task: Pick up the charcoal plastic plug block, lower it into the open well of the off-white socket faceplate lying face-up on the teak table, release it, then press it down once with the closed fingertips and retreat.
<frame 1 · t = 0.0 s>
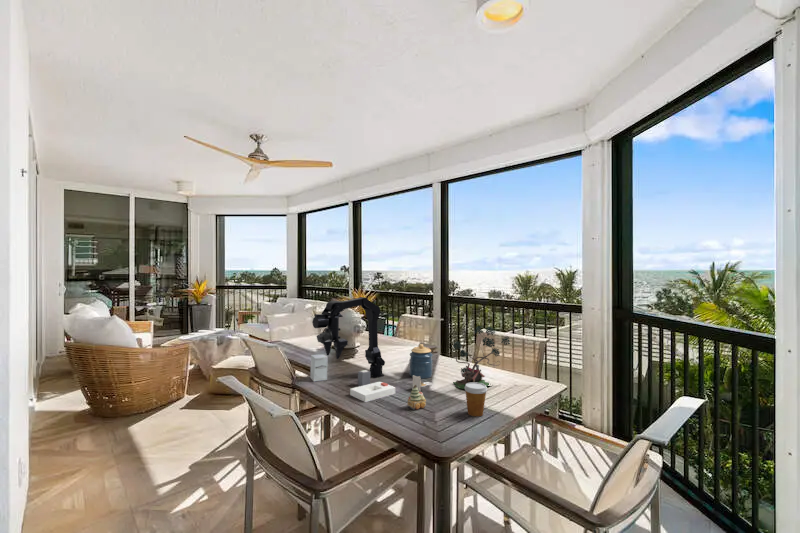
hand: (332, 357, 198), 15 cm above the table, fingers open, 9 cm apart
canister: (420, 375, 219), on the table
plug: (363, 385, 201), on the table
disposable coffee cup: (475, 414, 165), on the table
socket: (372, 394, 187), on the table
supplement box: (318, 379, 209), on the table
ornament: (416, 407, 172), on the table
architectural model: (417, 391, 194), on the table
bonsai tree: (482, 387, 201), on the table
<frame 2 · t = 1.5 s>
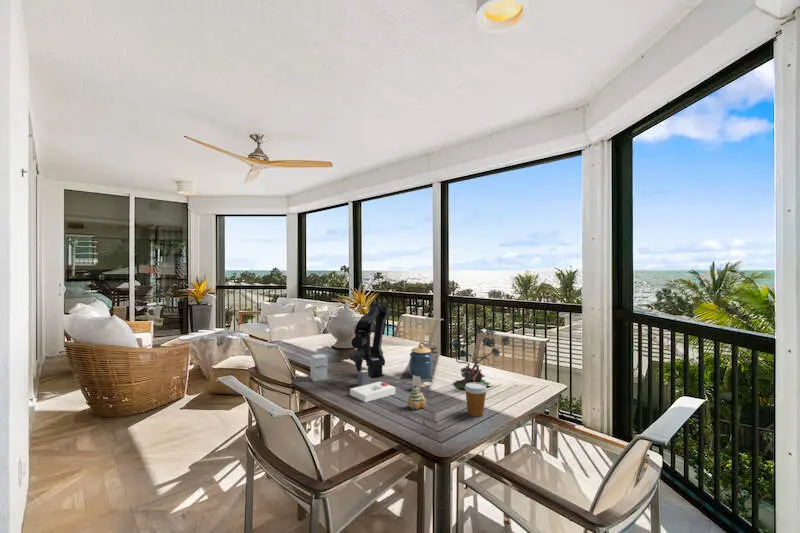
hand: (364, 374, 201), 5 cm above the table, fingers open, 9 cm apart
nothing on the table moved.
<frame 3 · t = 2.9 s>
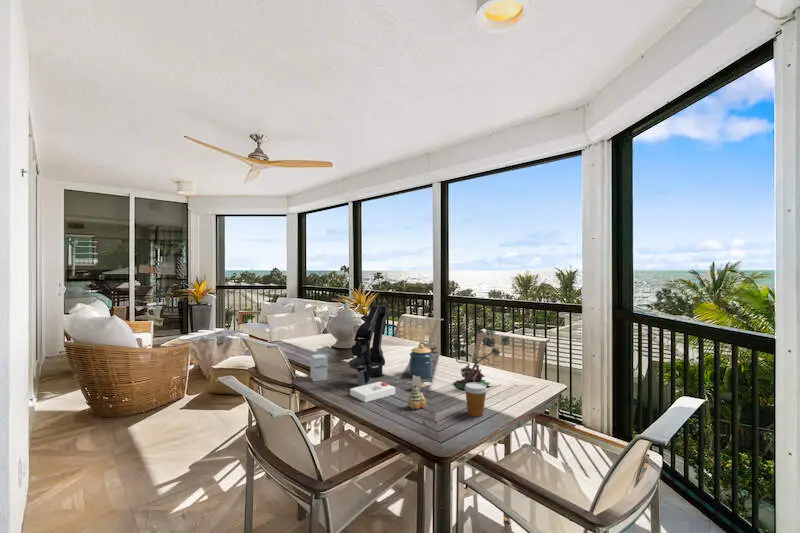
hand: (364, 382, 201), 2 cm above the table, fingers closed on plug, 4 cm apart
plug: (363, 385, 201), on the table, touching gripper
everything else where it was.
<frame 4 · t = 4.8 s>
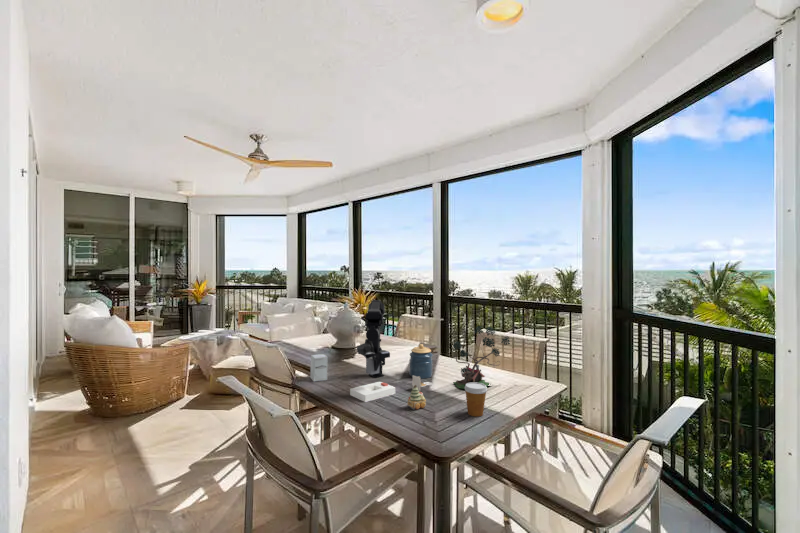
hand: (372, 369, 187), 12 cm above the table, fingers closed on plug, 4 cm apart
plug: (372, 372, 187), point 10 cm above the table, touching gripper
everything else where it was.
when the fingers open (3 cm above the table, at t = 7.0 s): plug drops 1 cm, resting on socket.
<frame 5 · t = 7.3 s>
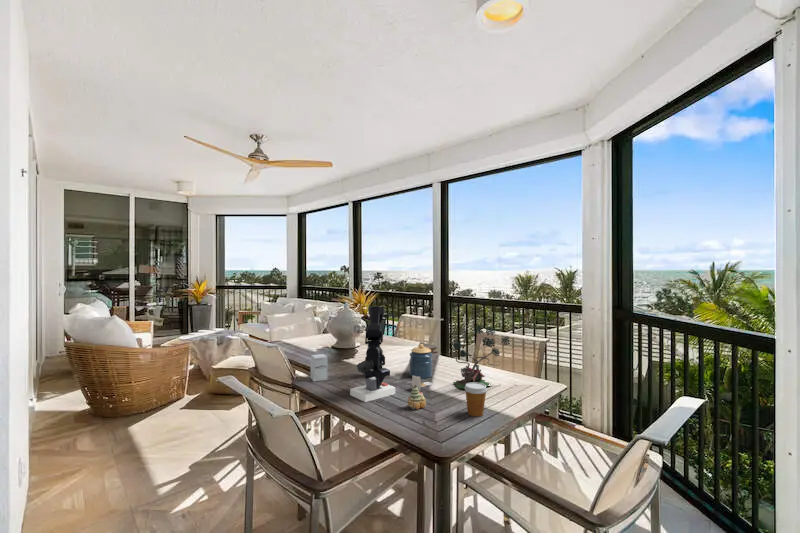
hand: (373, 387, 187), 3 cm above the table, fingers open, 7 cm apart
plug: (372, 393, 187), resting on socket
everything else where it was.
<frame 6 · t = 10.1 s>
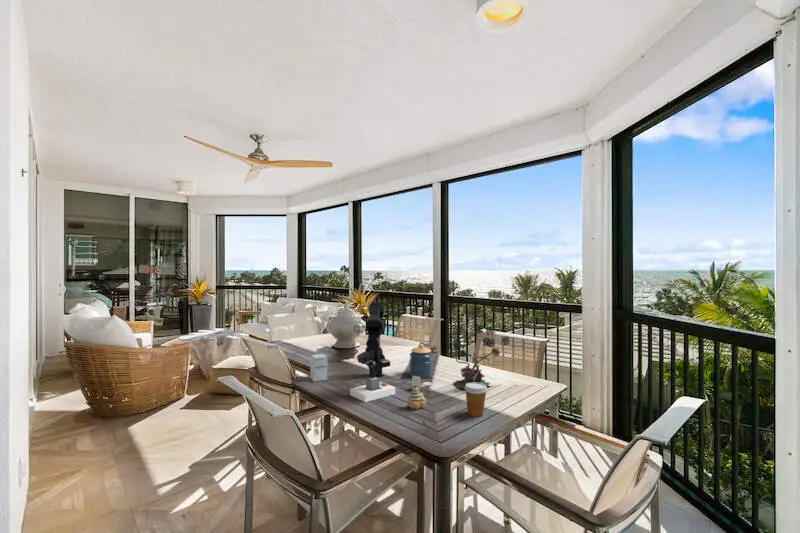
hand: (373, 378, 187), 8 cm above the table, fingers closed, pressing on plug
plug: (372, 393, 187), resting on socket, touching gripper
everything else where it was.
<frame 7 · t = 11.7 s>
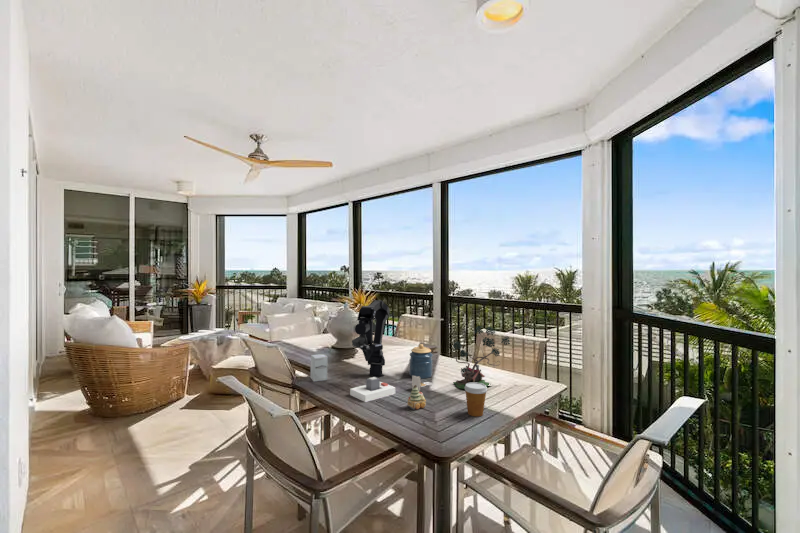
hand: (367, 360, 202), 12 cm above the table, fingers closed
plug: (372, 393, 187), resting on socket
everything else where it was.
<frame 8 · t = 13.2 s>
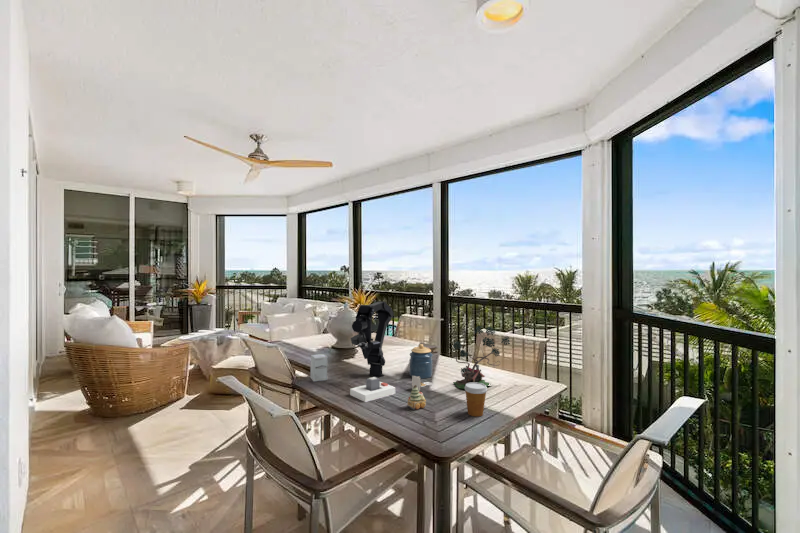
hand: (365, 358, 205), 13 cm above the table, fingers closed
nothing on the table moved.
at the end: plug 0.1 cm off-centre on the socket, point 0.5 cm above the socket's base; plug tilted 0°; the gripper is holding nothing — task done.
